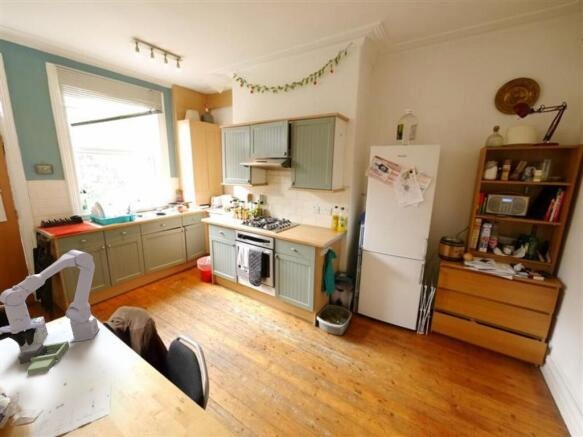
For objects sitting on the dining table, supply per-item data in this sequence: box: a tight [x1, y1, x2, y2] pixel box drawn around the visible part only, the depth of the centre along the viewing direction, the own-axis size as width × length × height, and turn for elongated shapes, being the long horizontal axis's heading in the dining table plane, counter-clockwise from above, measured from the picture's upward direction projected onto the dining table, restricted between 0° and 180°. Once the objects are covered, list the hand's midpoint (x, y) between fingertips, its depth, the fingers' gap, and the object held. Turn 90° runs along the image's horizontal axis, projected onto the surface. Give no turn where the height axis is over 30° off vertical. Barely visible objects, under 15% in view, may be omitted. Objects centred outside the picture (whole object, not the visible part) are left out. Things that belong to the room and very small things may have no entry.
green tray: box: [26, 340, 70, 375], centre depth 110 cm, size 10×14×3 cm
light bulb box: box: [17, 316, 49, 354], centre depth 118 cm, size 11×7×11 cm, turn 26°
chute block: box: [17, 343, 49, 365], centre depth 110 cm, size 7×5×6 cm
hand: (27, 344), depth 105 cm, fingers open, 2 cm apart
